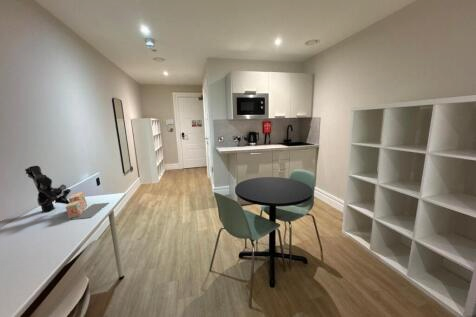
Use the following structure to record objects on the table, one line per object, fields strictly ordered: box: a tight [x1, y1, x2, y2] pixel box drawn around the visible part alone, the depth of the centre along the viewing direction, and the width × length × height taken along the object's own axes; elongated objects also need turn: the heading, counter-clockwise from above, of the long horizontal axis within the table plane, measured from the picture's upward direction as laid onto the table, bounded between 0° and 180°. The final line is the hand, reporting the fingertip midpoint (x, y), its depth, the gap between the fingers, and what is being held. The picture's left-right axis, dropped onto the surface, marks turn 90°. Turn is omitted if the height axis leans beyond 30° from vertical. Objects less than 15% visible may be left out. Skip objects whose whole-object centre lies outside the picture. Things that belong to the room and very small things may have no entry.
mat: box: [71, 202, 110, 221], centre depth 152 cm, size 13×24×1 cm, turn 5°
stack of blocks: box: [65, 191, 88, 219], centre depth 150 cm, size 21×6×12 cm, turn 25°
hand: (69, 203), depth 149 cm, fingers closed
